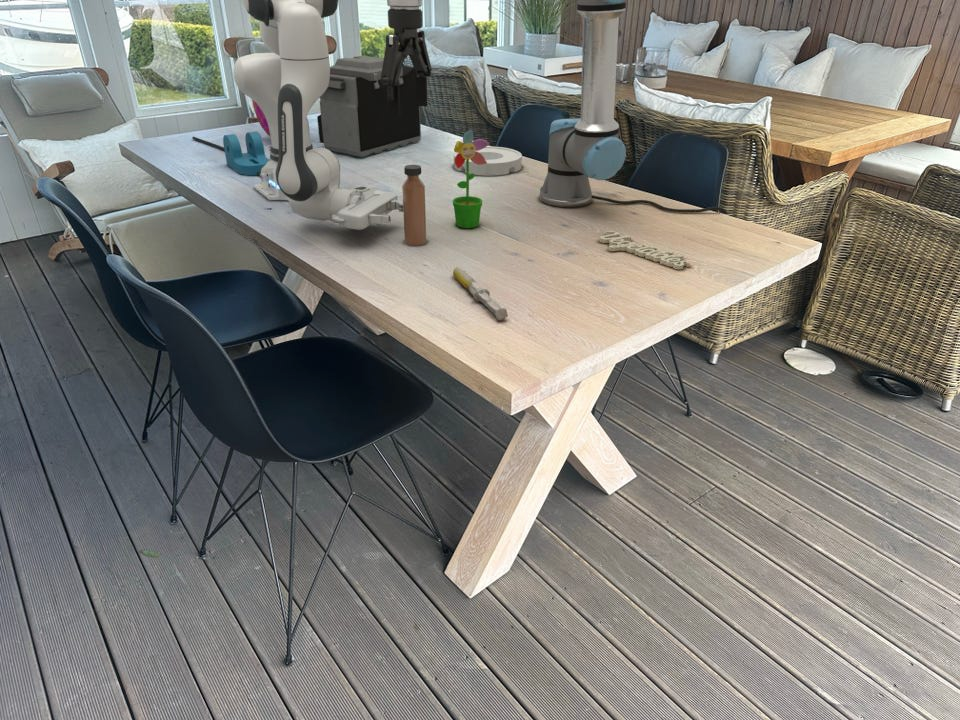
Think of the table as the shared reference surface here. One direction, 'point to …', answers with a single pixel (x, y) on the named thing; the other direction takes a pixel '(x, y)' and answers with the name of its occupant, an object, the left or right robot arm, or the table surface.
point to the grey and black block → (366, 109)
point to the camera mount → (245, 161)
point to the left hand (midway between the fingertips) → (398, 213)
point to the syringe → (479, 293)
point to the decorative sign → (643, 250)
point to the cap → (412, 170)
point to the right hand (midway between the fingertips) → (408, 110)
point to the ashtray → (494, 162)
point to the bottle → (414, 211)
